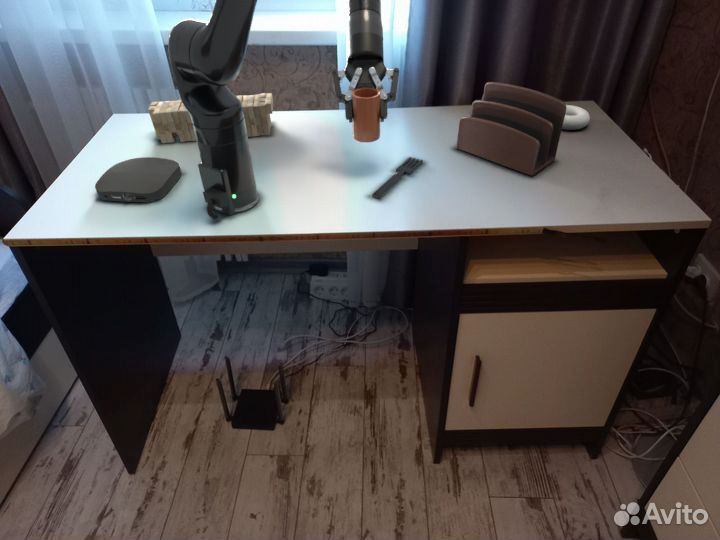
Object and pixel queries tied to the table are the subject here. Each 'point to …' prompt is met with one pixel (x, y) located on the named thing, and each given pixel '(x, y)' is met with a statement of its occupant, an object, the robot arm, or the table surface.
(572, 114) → the donut
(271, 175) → the table surface
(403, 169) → the fork
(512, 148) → the letter holder
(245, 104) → the block tower
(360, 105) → the tumbler
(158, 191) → the media streaming box
